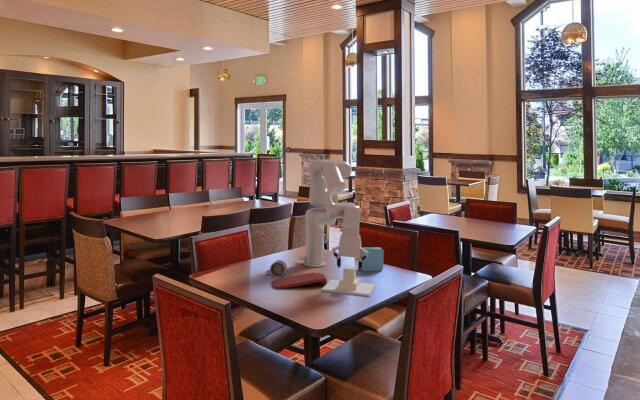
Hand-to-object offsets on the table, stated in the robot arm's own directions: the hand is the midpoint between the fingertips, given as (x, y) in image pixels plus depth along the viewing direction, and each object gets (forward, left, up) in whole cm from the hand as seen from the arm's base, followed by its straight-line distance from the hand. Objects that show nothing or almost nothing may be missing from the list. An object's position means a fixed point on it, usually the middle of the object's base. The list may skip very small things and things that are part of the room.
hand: (349, 268), depth 214 cm
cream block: (0, 0, -6) cm, 6 cm away
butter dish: (0, 0, -10) cm, 10 cm away
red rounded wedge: (-23, -2, -10) cm, 26 cm away
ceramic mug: (-40, +9, -10) cm, 42 cm away
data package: (+4, +37, -10) cm, 38 cm away
